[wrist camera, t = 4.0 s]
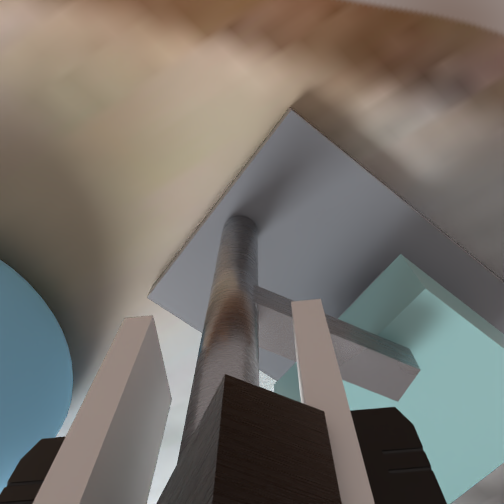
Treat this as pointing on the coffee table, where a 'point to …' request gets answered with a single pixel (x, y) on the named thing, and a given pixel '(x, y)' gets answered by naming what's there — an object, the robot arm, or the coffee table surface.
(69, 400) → the sugar bowl
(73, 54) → the coffee table surface
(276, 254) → the grey base plate
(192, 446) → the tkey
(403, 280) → the lid
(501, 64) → the coffee table surface
